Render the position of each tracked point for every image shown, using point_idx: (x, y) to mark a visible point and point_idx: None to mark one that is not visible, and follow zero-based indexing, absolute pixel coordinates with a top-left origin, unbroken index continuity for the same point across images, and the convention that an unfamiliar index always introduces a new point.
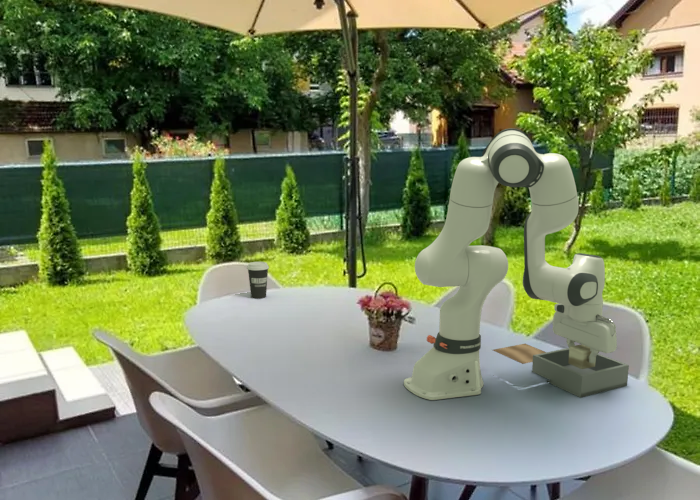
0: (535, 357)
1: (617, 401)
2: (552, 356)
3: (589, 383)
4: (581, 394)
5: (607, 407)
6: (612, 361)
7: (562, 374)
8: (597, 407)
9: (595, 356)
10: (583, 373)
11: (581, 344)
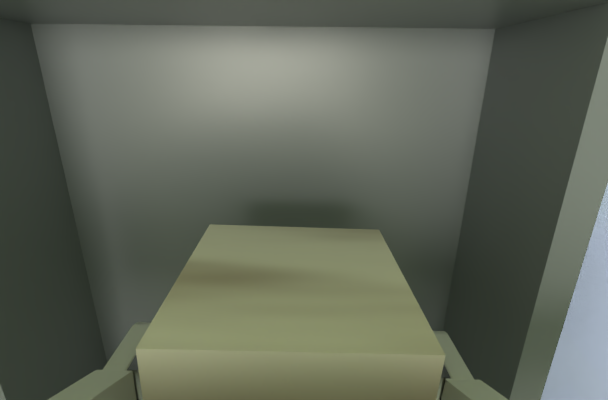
0: None
1: (588, 270)
2: (25, 346)
3: None
4: None
5: (585, 359)
6: (447, 1)
7: None
8: (553, 392)
9: (479, 387)
10: (238, 162)
11: (146, 378)
